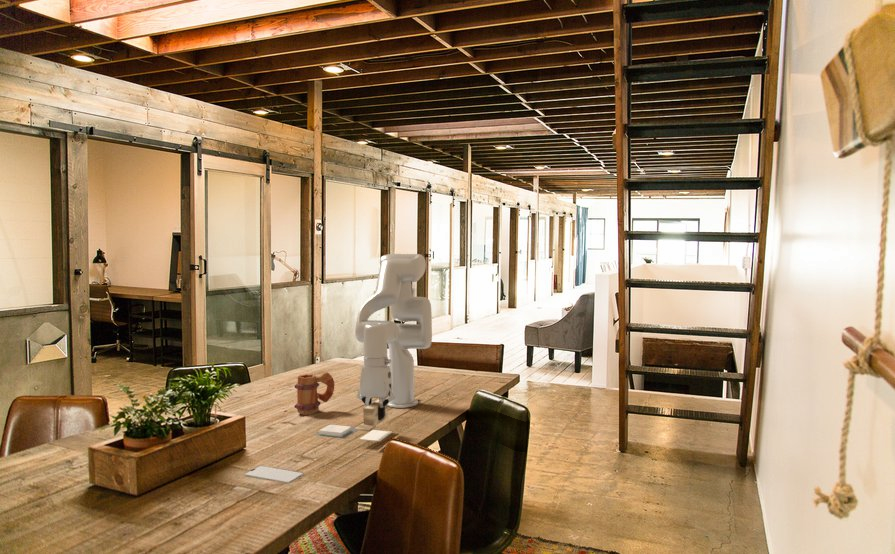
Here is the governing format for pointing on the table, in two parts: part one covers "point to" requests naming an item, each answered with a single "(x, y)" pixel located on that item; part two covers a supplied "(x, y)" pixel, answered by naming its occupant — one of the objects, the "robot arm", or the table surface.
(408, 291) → the robot arm
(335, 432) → the tile
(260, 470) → the smartphone
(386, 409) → the beige piece
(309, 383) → the mug
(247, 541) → the table surface
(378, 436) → the pad
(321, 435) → the mat
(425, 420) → the table surface
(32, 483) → the table surface
